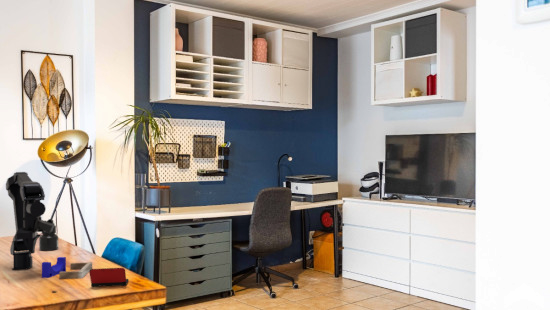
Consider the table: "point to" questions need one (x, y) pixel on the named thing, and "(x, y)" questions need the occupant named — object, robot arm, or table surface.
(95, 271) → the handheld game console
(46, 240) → the ink bottle
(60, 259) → the cable clip
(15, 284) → the table surface
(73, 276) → the slot rails
